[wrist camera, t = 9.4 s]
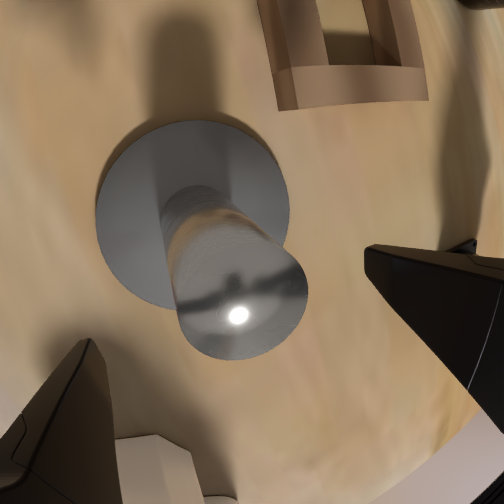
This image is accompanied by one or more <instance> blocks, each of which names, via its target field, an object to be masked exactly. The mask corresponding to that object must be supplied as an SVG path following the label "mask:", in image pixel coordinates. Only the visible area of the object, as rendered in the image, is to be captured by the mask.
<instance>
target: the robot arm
mask: <svg viewBox="0 0 504 504" xmlns="http://www.w3.org/2000/svg"><path fill="white" fill-rule="evenodd" d="M476 247H477V240H476V239H470V240H469V241H467V242H465V243H463V244H461V245H459V246H457V247H455V248H453V249H451V250H449V251H447V252H441V251H433V250H424V249H416V248H407V247H398V246H389V245H380V244H374V245H371V246H368V247H366V248H365V250H364V270H365V274H366V276H367V277H368V279H369V280H370V281H371V282H372V284H373V285H374V286H375V287H376V289H377V290H378V291H379V293H380V294H381V295H382V296H383V298H384V299H385V300H386V301H387V303H388V304H389V305H390V306H391V307H392V309H393V310H394V311H395V312H396V313H397V314H398V315H399V316H400V317H401V318H402V319H403V320H404V321H405V322H406V323H407V324H408V325H409V327H410V328H411V329H412V330H413V331H414V332H415V333H416V334H417V335H418V336H419V337H420V338H421V339H422V340H423V342H424V343H425V344H426V345H427V346H428V347H429V348H430V349H431V350H432V351H433V352H434V354H435V355H436V356H437V357H438V358H439V359H440V360H441V361H442V362H443V364H444V365H445V366H446V367H447V368H448V369H449V370H450V371H451V373H452V374H453V375H454V376H455V377H456V378H457V379H458V381H459V382H460V383H461V384H462V385H463V386H464V387H465V389H466V390H468V392H469V394H470V395H471V396H472V397H473V398H474V399H475V401H476V402H477V403H478V404H479V405H480V407H481V408H482V409H483V410H484V411H485V412H486V414H487V415H488V416H489V417H490V419H491V420H492V421H493V422H494V424H495V425H496V426H497V427H498V429H499V430H500V431H501V432H502V433H503V434H504V258H492V257H483V256H479V255H477V254H476ZM21 413H22V414H19V416H18V417H17V418H16V420H15V421H14V422H13V424H12V425H11V426H10V428H9V429H8V430H7V432H6V433H5V434H4V435H3V436H2V438H1V439H0V504H123V501H122V495H121V488H120V481H119V474H118V466H117V458H116V448H115V437H114V425H113V411H112V403H111V396H110V390H109V384H108V377H107V370H106V364H105V361H104V358H103V357H102V355H101V353H100V351H99V350H98V348H97V346H96V344H95V342H94V341H93V340H92V339H91V338H87V339H84V340H80V341H79V342H78V343H77V344H76V345H75V346H74V347H73V349H72V350H71V351H70V352H69V353H68V354H67V356H66V357H65V358H64V359H63V360H62V362H61V363H60V364H59V365H58V366H57V368H56V369H55V370H54V371H53V373H52V374H51V375H50V376H49V377H48V379H47V380H46V381H45V382H44V384H43V385H42V386H41V387H40V389H39V390H38V391H37V393H36V394H35V395H34V396H33V398H32V399H31V400H30V401H29V403H28V404H27V405H26V407H25V408H24V409H23V411H22V412H21ZM470 504H504V472H502V473H501V474H500V476H499V477H497V479H496V480H495V481H494V482H493V483H492V484H491V485H490V486H489V487H488V488H486V489H485V490H484V491H483V492H482V493H481V494H480V495H479V496H478V497H477V498H476V499H475V500H474V501H473V502H471V503H470Z"/></svg>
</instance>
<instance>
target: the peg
mask: <svg viewBox="0 0 504 504" xmlns="http://www.w3.org/2000/svg"><path fill="white" fill-rule="evenodd" d="M160 225H161V233H162V238H163V244H164V250H165V256H166V261H167V266H168V272H169V277H170V282H171V287H172V292H173V297H174V302H175V306H176V311H177V316H178V320H179V324H180V327H181V330H182V332H183V334H184V336H185V337H186V339H187V340H188V342H189V343H190V344H191V345H192V346H193V347H195V348H196V349H197V350H198V351H200V352H202V353H203V354H205V355H208V356H210V357H213V358H217V359H222V360H243V359H249V358H252V357H256V356H259V355H261V354H263V353H266V352H268V351H269V350H271V349H273V348H274V347H276V346H277V345H279V344H280V343H281V342H283V341H284V340H285V339H286V338H287V337H288V336H289V335H290V334H291V333H292V332H293V330H294V329H295V328H296V326H297V325H298V323H299V322H300V320H301V318H302V316H303V314H304V311H305V308H306V304H307V299H308V284H307V279H306V276H305V273H304V271H303V269H302V267H301V266H300V264H299V263H298V261H297V260H296V259H295V258H294V257H293V256H292V255H291V254H289V253H288V252H287V251H286V250H285V249H284V248H283V247H282V246H280V245H279V244H278V243H277V242H276V241H275V240H274V239H273V238H271V237H270V236H269V235H268V234H267V233H266V232H265V231H264V230H262V229H261V228H260V227H259V226H258V225H257V224H256V223H255V222H253V221H252V220H251V219H250V218H249V217H248V216H247V215H245V214H244V213H243V212H242V211H241V210H240V209H239V208H237V207H236V206H235V205H234V204H233V203H232V202H231V201H229V200H228V199H227V198H226V197H225V196H224V195H223V194H221V193H220V192H219V191H217V190H216V189H214V188H211V187H208V186H204V185H193V186H188V187H185V188H183V189H181V190H179V191H177V192H176V193H175V194H173V195H172V196H171V197H170V198H169V200H168V201H167V202H166V204H165V206H164V208H163V210H162V213H161V219H160Z"/></svg>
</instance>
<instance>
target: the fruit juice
mask: <svg viewBox="0 0 504 504" xmlns="http://www.w3.org/2000/svg"><path fill="white" fill-rule="evenodd" d="M203 498H204V501H205V504H239V503H238V502H237V501H236V500H235V499H233V498H230V497H225V496H208V497H203Z"/></svg>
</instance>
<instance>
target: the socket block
mask: <svg viewBox="0 0 504 504" xmlns="http://www.w3.org/2000/svg"><path fill="white" fill-rule="evenodd" d="M362 2H363V6H364V10H365V14H366V18H367V23H368V27H369V32H370V36H371V41H372V46H373V51H374V57H375V62H376V65H329V62H328V57H327V52H326V47H325V42H324V37H323V32H322V27H321V23H320V18H319V14H318V10H317V6H316V2H315V0H257V3H258V8H259V12H260V17H261V22H262V26H263V31H264V36H265V41H266V46H267V51H268V56H269V61H270V66H271V71H272V76H273V82H274V87H275V92H276V98H277V104H278V109H279V111H286V110H298V109H306V108H314V107H323V106H332V105H343V104H355V103H369V102H388V101H429V98H428V90H427V82H426V75H425V69H424V63H423V57H422V51H421V46H420V41H419V36H418V31H417V27H416V22H415V18H414V14H413V10H412V6H411V2H410V0H362Z"/></svg>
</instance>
